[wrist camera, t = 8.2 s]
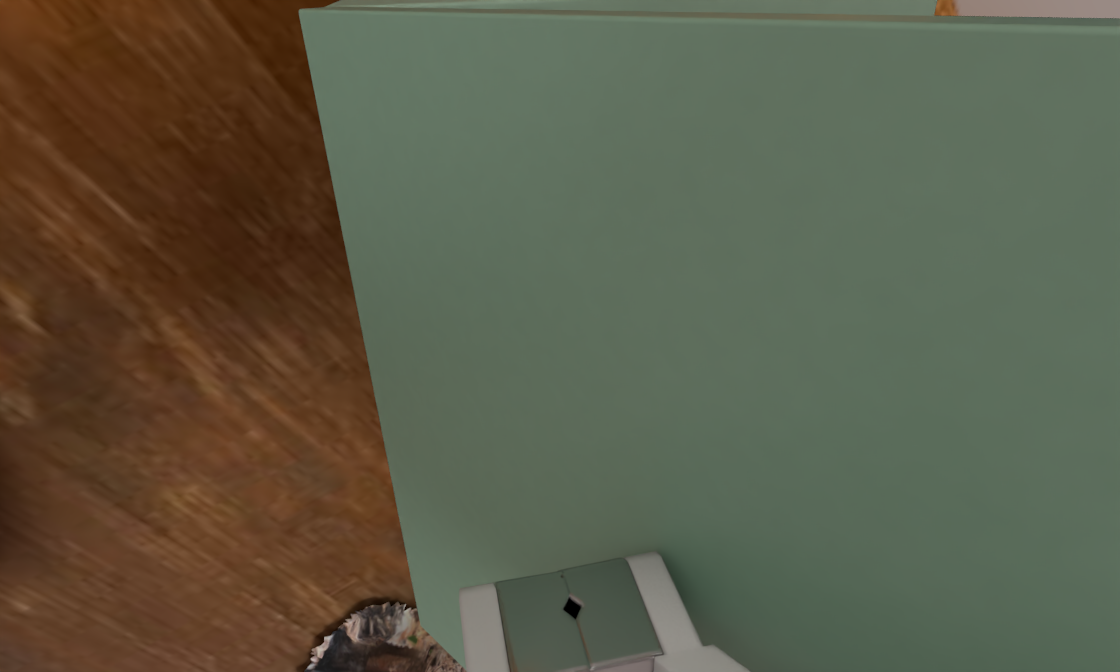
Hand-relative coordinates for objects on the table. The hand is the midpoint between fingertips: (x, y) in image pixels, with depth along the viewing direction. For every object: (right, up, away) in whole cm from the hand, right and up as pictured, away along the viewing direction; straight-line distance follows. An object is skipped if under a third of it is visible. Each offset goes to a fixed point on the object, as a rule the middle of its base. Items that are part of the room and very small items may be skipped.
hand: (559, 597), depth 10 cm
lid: (+1, +1, +1) cm, 2 cm away
